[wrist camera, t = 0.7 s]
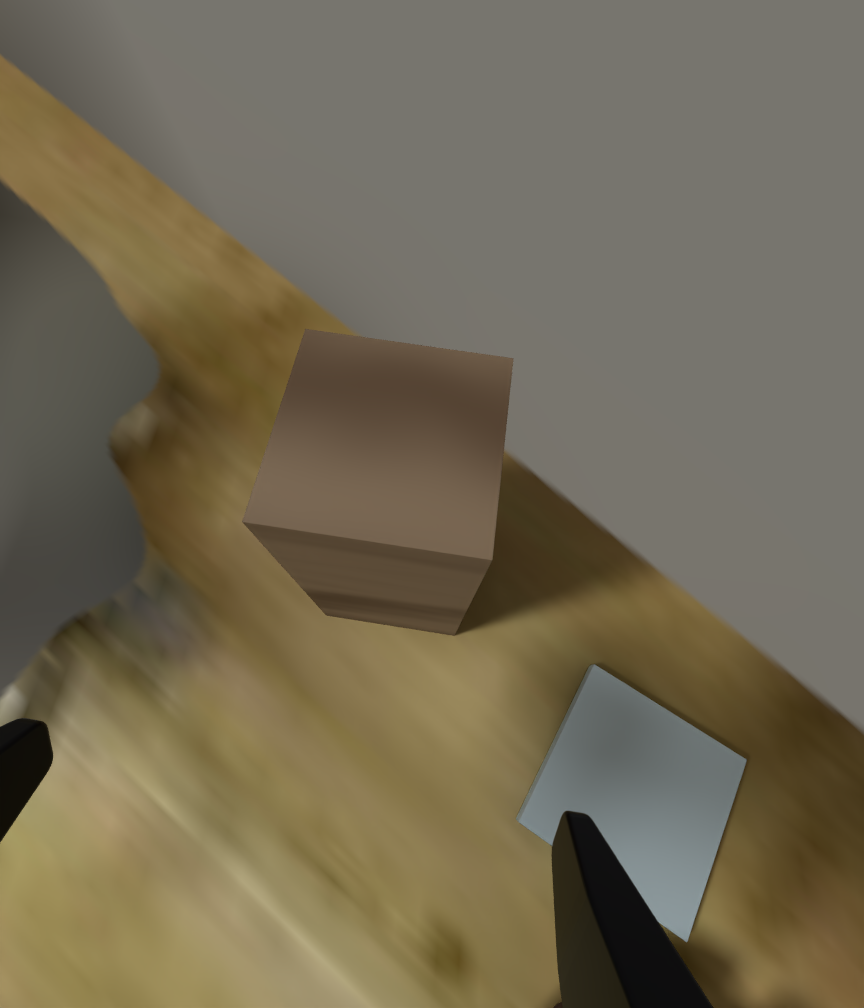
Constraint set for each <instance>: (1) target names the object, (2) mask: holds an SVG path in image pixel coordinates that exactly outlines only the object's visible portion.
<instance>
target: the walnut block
mask: <svg viewBox="0 0 864 1008" xmlns="http://www.w3.org/2000/svg"><path fill="white" fill-rule="evenodd" d="M512 366H513V358H507V357H500V356H493V355H485V354H478V353H472V352H465V351H457V350H450V349H443V348H436V347H429V346H422V345H415V344H407V343H401V342H394V341H386V340H379V339H372V338H365V337H358V336H351V335H344V334H337V333H330V332H323V331H316V330H309V329H305V332H304V335H303V338H302V341H301V344H300V347H299V350H298V353H297V356H296V359H295V362H294V365H293V369H292V372H291V375H290V378H289V381H288V384H287V387H286V390H285V393H284V396H283V399H282V402H281V405H280V408H279V411H278V414H277V417H276V420H275V423H274V426H273V429H272V433H271V436H270V439H269V442H268V445H267V448H266V451H265V454H264V457H263V460H262V463H261V466H260V469H259V472H258V475H257V478H256V481H255V484H254V487H253V490H252V493H251V497H250V500H249V503H248V506H247V509H246V512H245V515H244V518H243V521H242V522H243V523H244V524H245V525H246V527H247V528H248V529H249V530H250V531H251V532H252V533H253V534H254V535H255V537H256V538H257V539H258V540H259V541H260V542H261V543H262V544H263V546H264V547H265V548H266V549H267V550H268V551H269V552H270V553H271V554H272V556H273V557H274V558H275V559H276V560H277V561H278V562H279V563H280V564H281V566H282V567H283V568H284V569H285V570H286V571H287V572H288V573H289V574H290V576H291V577H292V578H293V579H294V580H295V581H296V582H297V583H298V585H299V586H300V587H301V588H302V589H303V590H304V591H305V592H306V593H307V595H308V596H309V597H310V598H311V599H312V600H313V601H314V602H315V603H316V605H317V606H318V607H319V608H320V609H321V610H322V611H323V612H324V613H325V615H327V616H333V617H340V618H346V619H352V620H358V621H365V622H371V623H377V624H384V625H390V626H396V627H403V628H409V629H415V630H422V631H428V632H434V633H440V634H447V635H453V636H454V635H455V633H456V631H457V629H458V627H459V625H460V623H461V621H462V619H463V617H464V615H465V613H466V611H467V609H468V607H469V605H470V603H471V601H472V600H473V598H474V596H475V594H476V592H477V590H478V588H479V586H480V584H481V582H482V580H483V578H484V576H485V574H486V572H487V570H488V568H489V566H490V564H491V562H492V558H493V549H494V539H495V530H496V520H497V510H498V501H499V491H500V482H501V472H502V463H503V453H504V443H505V433H506V424H507V414H508V405H509V395H510V385H511V376H512Z"/></svg>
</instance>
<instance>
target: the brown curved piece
mask: <svg viewBox="0 0 864 1008" xmlns="http://www.w3.org/2000/svg"><path fill="white" fill-rule="evenodd" d="M554 1008H563V1005H562V1002H560V1003H558V1004H557V1005H555V1006H554Z"/></svg>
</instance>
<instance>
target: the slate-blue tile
mask: <svg viewBox="0 0 864 1008" xmlns="http://www.w3.org/2000/svg"><path fill="white" fill-rule="evenodd" d="M746 761H747V760H746V759H745V758H743V757H742V756H740V755H738V754H737V753H735V752H734V751H732V750H730V749H729V748H727V747H726V746H724V745H722V744H721V743H719V742H718V741H716V740H714V739H713V738H711V737H710V736H708V735H706V734H705V733H703V732H702V731H700V730H698V729H697V728H695V727H694V726H692V725H691V724H689V723H687V722H686V721H684V720H683V719H681V718H679V717H678V716H676V715H675V714H673V713H671V712H670V711H668V710H667V709H665V708H663V707H662V706H660V705H659V704H657V703H655V702H654V701H652V700H651V699H649V698H647V697H646V696H644V695H643V694H641V693H639V692H638V691H636V690H635V689H633V688H631V687H630V686H628V685H627V684H625V683H623V682H622V681H620V680H619V679H617V678H615V677H614V676H612V675H611V674H609V673H607V672H606V671H604V670H603V669H601V668H599V667H598V666H596V665H595V664H593V665H590V666H589V668H588V670H587V672H586V674H585V676H584V678H583V680H582V682H581V684H580V686H579V689H578V691H577V693H576V695H575V697H574V699H573V701H572V703H571V705H570V707H569V709H568V711H567V713H566V716H565V718H564V720H563V722H562V724H561V726H560V728H559V730H558V732H557V734H556V736H555V738H554V740H553V743H552V745H551V747H550V749H549V751H548V753H547V755H546V757H545V759H544V761H543V763H542V765H541V768H540V770H539V772H538V774H537V776H536V778H535V780H534V782H533V784H532V786H531V788H530V790H529V792H528V795H527V797H526V799H525V801H524V803H523V805H522V807H521V809H520V811H519V813H518V815H517V817H516V820H517V821H518V822H519V823H521V824H522V825H524V826H525V827H526V828H528V829H529V830H531V831H532V832H533V833H535V834H536V835H537V836H539V837H540V838H542V839H543V840H544V841H546V842H547V843H549V844H550V845H551V846H552V844H553V840H554V837H555V834H556V831H557V828H558V825H559V822H560V819H561V816H562V814H563V812H565V811H574V812H580V813H585V814H587V815H588V816H590V817H591V818H592V820H593V821H594V823H595V824H596V826H597V827H598V829H599V831H600V832H601V834H602V835H603V837H604V838H605V840H606V841H607V843H608V845H609V846H610V848H611V849H612V851H613V852H614V854H615V855H616V857H617V859H618V860H619V862H620V863H621V865H622V866H623V868H624V870H625V871H626V873H627V874H628V876H629V877H630V879H631V880H632V882H633V884H634V885H635V887H636V888H637V890H638V891H639V893H640V894H641V896H642V898H643V899H644V901H645V902H646V904H647V905H648V907H649V908H650V910H651V912H652V913H653V915H654V916H655V918H656V919H657V921H658V922H659V923H660V924H662V925H663V926H665V927H666V928H667V929H669V930H670V931H672V932H673V933H674V934H676V935H677V936H679V937H680V938H681V939H683V940H684V941H686V942H687V941H688V938H689V935H690V932H691V929H692V926H693V923H694V920H695V917H696V914H697V911H698V908H699V904H700V901H701V898H702V895H703V892H704V889H705V886H706V883H707V880H708V877H709V874H710V871H711V868H712V865H713V862H714V859H715V856H716V853H717V850H718V847H719V844H720V840H721V837H722V834H723V831H724V828H725V825H726V822H727V819H728V816H729V813H730V810H731V807H732V804H733V801H734V798H735V795H736V792H737V789H738V786H739V783H740V780H741V777H742V773H743V770H744V767H745V764H746Z"/></svg>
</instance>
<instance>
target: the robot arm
mask: <svg viewBox="0 0 864 1008" xmlns="http://www.w3.org/2000/svg"><path fill="white" fill-rule="evenodd" d="M52 761H53V751H52V746H51V741H50V736H49V731H48V727H47V725H46V724H45V723H44V722H43V721H38V720H32V719H26V718H21V719H16V720H14V721H11V722H9V723H7V724H5V725H3V726H1V727H0V842H1V841H2V839H3V838H4V836H5V835H6V833H7V832H8V830H9V829H10V827H11V826H12V824H13V823H14V821H15V820H16V818H17V817H18V815H19V814H20V812H21V811H22V809H23V808H24V806H25V805H26V803H27V802H28V800H29V799H30V798H31V796H32V795H33V793H34V792H35V790H36V789H37V787H38V786H39V784H40V783H41V781H42V780H43V778H44V777H45V775H46V774H47V772H48V770H49V769H50V766H51V764H52ZM552 874H553V893H554V911H555V930H556V948H557V963H558V974H559V983H560V991H561V998H562V1005H563V1008H713V1006H712V1005H711V1003H710V1002H709V1000H708V999H707V997H706V996H705V994H704V992H703V991H702V989H701V988H700V986H699V985H698V983H697V982H696V980H695V978H694V977H693V975H692V974H691V972H690V971H689V969H688V968H687V966H686V964H685V963H684V961H683V960H682V958H681V957H680V955H679V954H678V952H677V950H676V949H675V947H674V946H673V944H672V943H671V941H670V940H669V938H668V936H667V935H666V933H665V932H664V930H663V929H662V927H661V926H660V924H659V922H658V921H657V919H656V918H655V916H654V915H653V913H652V912H651V910H650V908H649V907H648V905H647V904H646V902H645V901H644V899H643V898H642V896H641V894H640V893H639V891H638V890H637V888H636V887H635V885H634V884H633V882H632V880H631V879H630V877H629V876H628V874H627V873H626V871H625V870H624V868H623V866H622V865H621V863H620V862H619V860H618V859H617V857H616V855H615V854H614V852H613V851H612V849H611V848H610V846H609V845H608V843H607V841H606V840H605V838H604V837H603V835H602V834H601V832H600V831H599V829H598V827H597V826H596V824H595V823H594V821H593V820H592V818H591V817H590V816H588V815H587V814H585V813H580V812H574V811H565V812H563V814H562V816H561V819H560V822H559V825H558V828H557V831H556V834H555V837H554V840H553V844H552Z"/></svg>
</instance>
